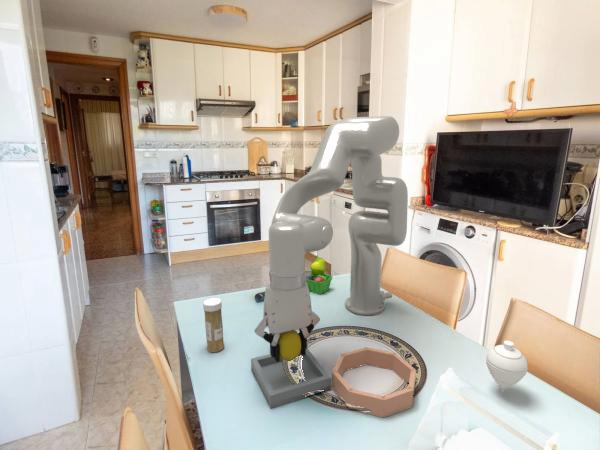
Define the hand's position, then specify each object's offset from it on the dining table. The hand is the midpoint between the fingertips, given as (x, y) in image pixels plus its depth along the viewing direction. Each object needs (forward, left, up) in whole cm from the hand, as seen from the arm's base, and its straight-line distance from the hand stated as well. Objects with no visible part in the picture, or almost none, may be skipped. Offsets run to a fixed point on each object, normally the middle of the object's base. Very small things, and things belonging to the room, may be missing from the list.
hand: (288, 354), depth 82 cm
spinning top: (-40, +23, -7) cm, 47 cm away
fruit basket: (-28, -44, -7) cm, 53 cm away
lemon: (0, 0, -2) cm, 2 cm away
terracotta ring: (-16, +10, -6) cm, 20 cm away
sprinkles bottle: (+13, -20, -7) cm, 25 cm away
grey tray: (0, 0, -6) cm, 6 cm away
